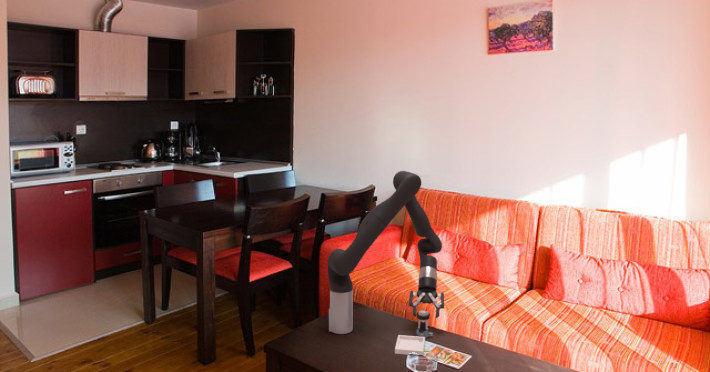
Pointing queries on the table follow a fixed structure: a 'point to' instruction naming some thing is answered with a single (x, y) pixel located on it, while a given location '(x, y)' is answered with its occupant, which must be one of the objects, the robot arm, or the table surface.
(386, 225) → the robot arm
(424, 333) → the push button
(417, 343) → the white button tray
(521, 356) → the table surface
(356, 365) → the table surface
